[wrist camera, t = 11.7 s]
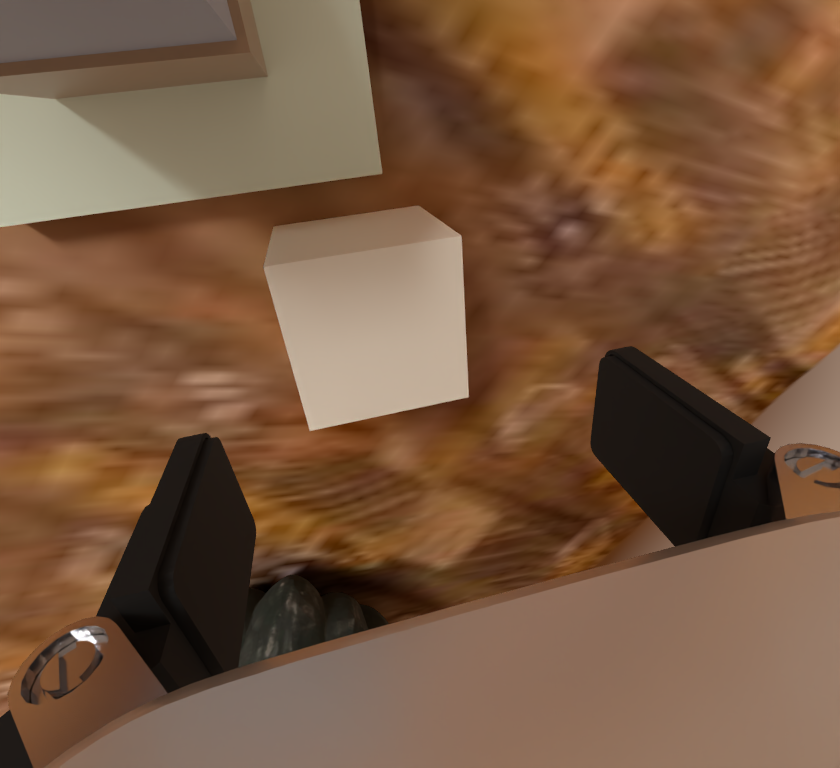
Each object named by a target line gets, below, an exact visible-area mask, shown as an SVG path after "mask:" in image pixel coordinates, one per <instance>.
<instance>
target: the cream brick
mask: <svg viewBox="0 0 840 768" xmlns="http://www.w3.org/2000/svg"><path fill="white" fill-rule="evenodd" d="M263 268H264V271H265V275H266V278H267V282H268V285H269V289H270V292H271V296H272V299H273V303H274V306H275V310H276V314H277V317H278V321H279V324H280V328H281V331H282V335H283V338H284V342H285V345H286V349H287V352H288V356H289V359H290V363H291V366H292V370H293V373H294V377H295V380H296V384H297V387H298V391H299V394H300V398H301V402H302V405H303V409H304V412H305V416H306V419H307V423H308V426H309V430H310V431H312V430H317V429H321V428H326V427H331V426H336V425H340V424H345V423H350V422H354V421H359V420H364V419H368V418H373V417H378V416H383V415H387V414H392V413H397V412H401V411H406V410H411V409H416V408H420V407H425V406H430V405H434V404H439V403H444V402H449V401H453V400H458V399H463V398H467V397H469V390H468V368H467V345H466V323H465V301H464V278H463V256H462V236H461V235H460V234H458V233H457V232H456V231H454V230H453V229H451V228H450V227H448V226H447V225H446V224H444V223H443V222H441V221H440V220H439V219H437V218H436V217H434V216H433V215H432V214H430V213H429V212H427V211H426V210H424V209H423V208H422V207H420V206H419V205H418V206H411V207H404V208H397V209H390V210H383V211H376V212H370V213H363V214H356V215H349V216H342V217H335V218H328V219H321V220H314V221H307V222H300V223H293V224H286V225H279V226H273V230H272V234H271V238H270V242H269V246H268V250H267V254H266V258H265V262H264V266H263Z"/></svg>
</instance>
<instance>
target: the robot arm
mask: <svg viewBox="0 0 840 768" xmlns="http://www.w3.org/2000/svg"><path fill="white" fill-rule="evenodd" d="M769 441H770V437H769V436H767V435H766V434H764V433H763V432H761V431H760V430H758V429H757V428H755V427H754V426H752V425H751V424H749V423H748V422H746V421H745V420H743V419H742V418H740V417H739V416H737V415H736V414H734V413H733V412H731V411H730V410H728V409H727V408H725V407H724V406H722V405H721V404H719V403H718V402H716V401H715V400H713V399H711V398H710V397H708V396H707V395H705V394H704V393H702V392H701V391H699V390H698V389H696V388H695V387H693V386H692V385H690V384H689V383H687V382H686V381H684V380H683V379H681V378H680V377H678V376H677V375H675V374H674V373H672V372H671V371H669V370H668V369H666V368H665V367H663V366H662V365H660V364H659V363H657V362H656V361H654V360H653V359H651V358H650V357H648V356H647V355H645V354H644V353H642V352H641V351H639V350H638V349H636V348H634V347H632V346H630V347H624V348H619V349H614V350H610V351H608V352H607V353H606V355H605V357H604V358H602V359H601V360H600V364H599V372H598V380H597V389H596V398H595V407H594V415H593V424H592V433H591V448H592V451H593V453H594V455H595V456H596V457H597V458H598V460H599V461H600V462H601V463H602V464H603V465H604V466H605V467H606V469H607V470H608V471H609V472H610V473H611V474H612V475H613V477H614V478H615V479H616V480H617V481H618V482H619V483H620V485H621V486H622V487H623V488H624V489H625V490H626V491H627V492H628V494H629V495H630V496H631V497H632V498H633V499H634V500H635V502H636V503H637V504H638V505H639V506H640V507H641V508H642V510H643V511H644V512H645V513H646V514H647V515H648V516H649V517H650V519H651V520H652V521H653V522H654V523H655V524H656V525H657V527H658V528H659V529H660V530H661V531H662V532H663V533H664V535H665V536H666V537H667V538H668V539H669V540H670V541H671V542H672V544H673V545H674V546H675V547H672V548H668V549H664V550H661V551H657V552H653V553H649V554H646V555H642V556H638V557H634V558H631V559H627V560H623V561H619V562H615V563H612V564H608V565H605V566H600V567H597V568H593V569H589V570H585V571H582V572H578V573H574V574H571V575H567V576H563V577H560V578H556V579H552V580H549V581H545V582H541V583H537V584H534V585H530V586H526V587H523V588H519V589H515V590H512V591H508V592H504V593H501V594H497V595H493V596H490V597H486V598H482V599H479V600H475V601H471V602H468V603H464V604H460V605H457V606H453V607H449V608H446V609H442V610H439V611H435V612H431V613H428V614H424V615H421V616H417V617H413V618H410V619H406V620H403V621H399V622H395V623H392V624H388V625H384V626H381V627H377V628H374V629H370V630H366V631H363V632H359V633H356V634H352V635H348V636H345V637H341V638H338V639H334V640H330V641H327V642H323V643H320V644H317V645H313V646H310V647H306V648H303V649H300V650H296V651H293V652H289V653H286V654H283V655H279V656H276V657H272V658H269V659H266V660H262V661H259V662H256V663H252V664H249V665H245V666H242V667H239V668H238V666H239V659H240V651H241V644H242V636H243V629H244V621H245V614H246V606H247V599H248V591H249V584H250V576H251V569H252V561H253V554H254V546H255V539H256V527H255V522H254V519H253V516H252V514H251V512H250V509H249V507H248V505H247V502H246V500H245V498H244V495H243V493H242V490H241V488H240V486H239V483H238V481H237V479H236V476H235V474H234V472H233V469H232V467H231V465H230V462H229V460H228V457H227V455H226V453H225V450H224V448H223V446H222V443H221V441H220V439H219V438H217V437H215V438H211V437H210V436H209V434H207V433H203V434H198V435H193V436H188V437H183V438H180V439H178V441H177V442H176V445H175V447H174V449H173V452H172V454H171V456H170V459H169V461H168V463H167V466H166V468H165V470H164V473H163V475H162V477H161V480H160V482H159V484H158V487H157V489H156V491H155V494H154V496H153V498H152V501H151V503H150V504H149V505H148V506H146V507H145V508H144V510H143V512H142V513H141V516H140V518H139V520H138V522H137V525H136V527H135V529H134V531H133V534H132V536H131V538H130V540H129V543H128V545H127V547H126V550H125V552H124V554H123V556H122V559H121V561H120V563H119V565H118V568H117V570H116V572H115V575H114V577H113V579H112V581H111V584H110V586H109V588H108V590H107V593H106V595H105V597H104V599H103V602H102V604H101V606H100V609H99V611H98V613H97V615H96V617H91V618H85V619H82V620H79V621H77V622H74V623H72V624H70V625H67V626H66V627H64V628H62V629H61V630H59V631H57V632H56V633H54V634H53V635H51V636H50V637H49V638H47V639H46V640H45V641H44V642H43V643H41V644H40V645H39V646H38V647H37V648H36V649H35V650H34V651H33V652H32V653H31V654H30V655H29V656H28V658H27V659H26V660H25V661H24V662H23V663H22V665H21V666H20V668H19V669H18V671H17V673H16V674H15V676H14V678H13V679H12V682H11V685H10V688H9V691H8V705H9V709H10V710H9V711H8V712H6V713H5V714H4V715H3V716H2V717H0V768H840V452H838V451H835V450H833V449H830V448H826V447H822V446H818V445H813V444H804V443H796V444H788V445H785V446H782V447H780V448H779V449H778V450H777V451H776V452H775V453H773V452H772V451H770V450H769V449H767V446H768V444H769Z"/></svg>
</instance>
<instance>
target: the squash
mask: <svg viewBox="0 0 840 768" xmlns="http://www.w3.org/2000/svg"><path fill="white" fill-rule="evenodd" d="M388 624H389V623H388V622H387V621H386V619H385V618H384V617H383V616H382V615H381V614H380V613H379V612H378V611H376V610H375V609H373V608H371V607H369V606H366V605H361V604H358V602H357V601H356V599H354V598H352V597H351V596H349V595H347V594H344V593H339V592H333V593H329V594H326V595H323V596H322V597H321V596H320V594H319V592H318V591H317V590H316V588H315V587H314V586H313V585H312V584H311V583H310V582H309V581H308V580H306V579H305V578H303V577H300V576H297V575H288V576H286V577H284V578H282V579H281V580H279V581H278V582H277V583H276V584H275V585H273V586H272V587H271V588H270V589H269V590H268V592H267V593H265V592H263V591H261V590H258V589H253V588H249V591H248V599H247V606H246V614H245V621H244V629H243V636H242V644H241V651H240V659H239V666H238V668H239V667H242V666H245V665H249V664H252V663H256V662H259V661H262V660H266V659H269V658H272V657H276V656H279V655H283V654H286V653H289V652H293V651H296V650H300V649H303V648H306V647H310V646H313V645H317V644H320V643H323V642H327V641H330V640H334V639H338V638H341V637H345V636H348V635H352V634H356V633H359V632H363V631H366V630H370V629H374V628H377V627H381V626H384V625H388Z"/></svg>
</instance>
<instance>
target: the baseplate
mask: <svg viewBox="0 0 840 768" xmlns="http://www.w3.org/2000/svg"><path fill="white" fill-rule="evenodd" d="M227 3H228V7H229V11H230V15H231V18H232V22H233V26H234V30H235V34H236V38H237V40H231V41H221V42H211V43H201V44H191V45H181V46H171V47H160V48H150V49H140V50H130V51H120V52H110V53H99V54H89V55H79V56H69V57H59V58H49V59H38V60H28V61H18V62H8V63H0V227H5V226H12V225H19V224H26V223H33V222H41V221H48V220H55V219H62V218H69V217H76V216H84V215H91V214H98V213H105V212H112V211H119V210H127V209H134V208H141V207H148V206H155V205H162V204H169V203H177V202H184V201H191V200H198V199H205V198H212V197H220V196H227V195H234V194H241V193H248V192H255V191H263V190H270V189H277V188H284V187H291V186H298V185H306V184H313V183H320V182H327V181H334V180H341V179H349V178H356V177H363V176H370V175H377V174H382V166H381V159H380V151H379V144H378V136H377V129H376V121H375V114H374V106H373V99H372V91H371V83H370V76H369V68H368V61H367V53H366V46H365V38H364V31H363V23H362V16H361V8H360V1H359V0H227Z"/></svg>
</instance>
